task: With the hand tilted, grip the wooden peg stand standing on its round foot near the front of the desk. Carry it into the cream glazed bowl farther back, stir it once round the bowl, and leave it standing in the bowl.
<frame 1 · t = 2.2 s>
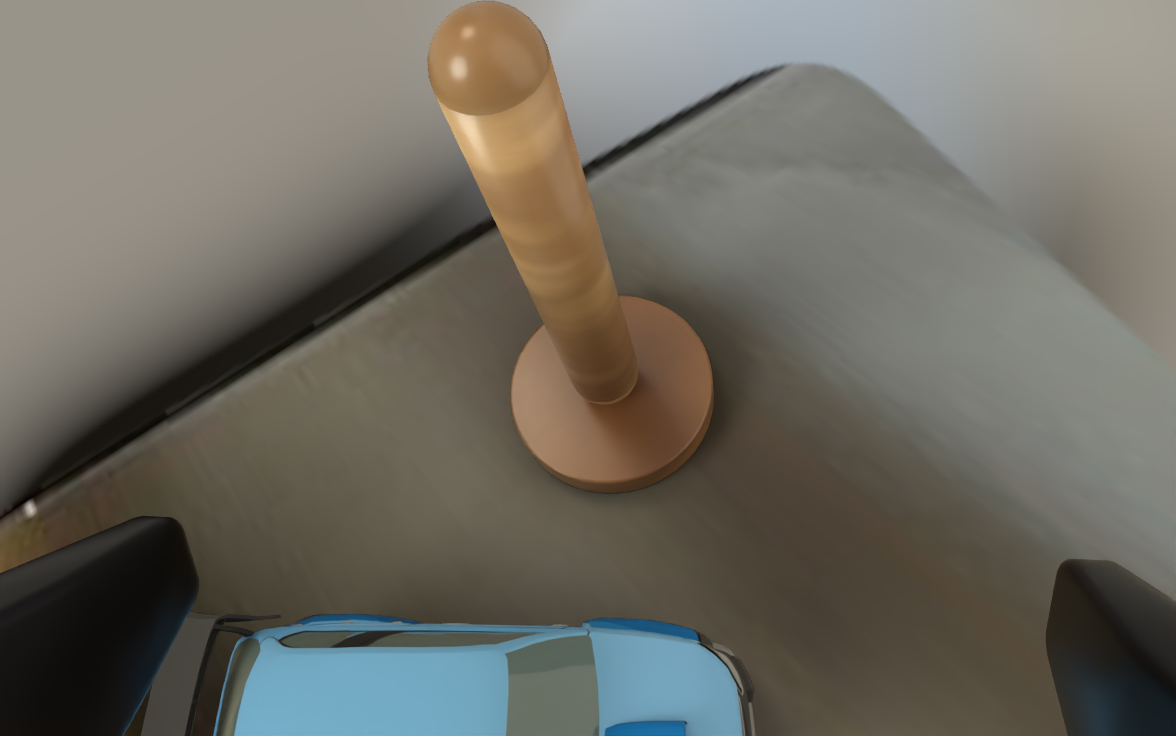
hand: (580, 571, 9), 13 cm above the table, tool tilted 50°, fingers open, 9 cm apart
wooden peg stand: (614, 397, 24), on the table
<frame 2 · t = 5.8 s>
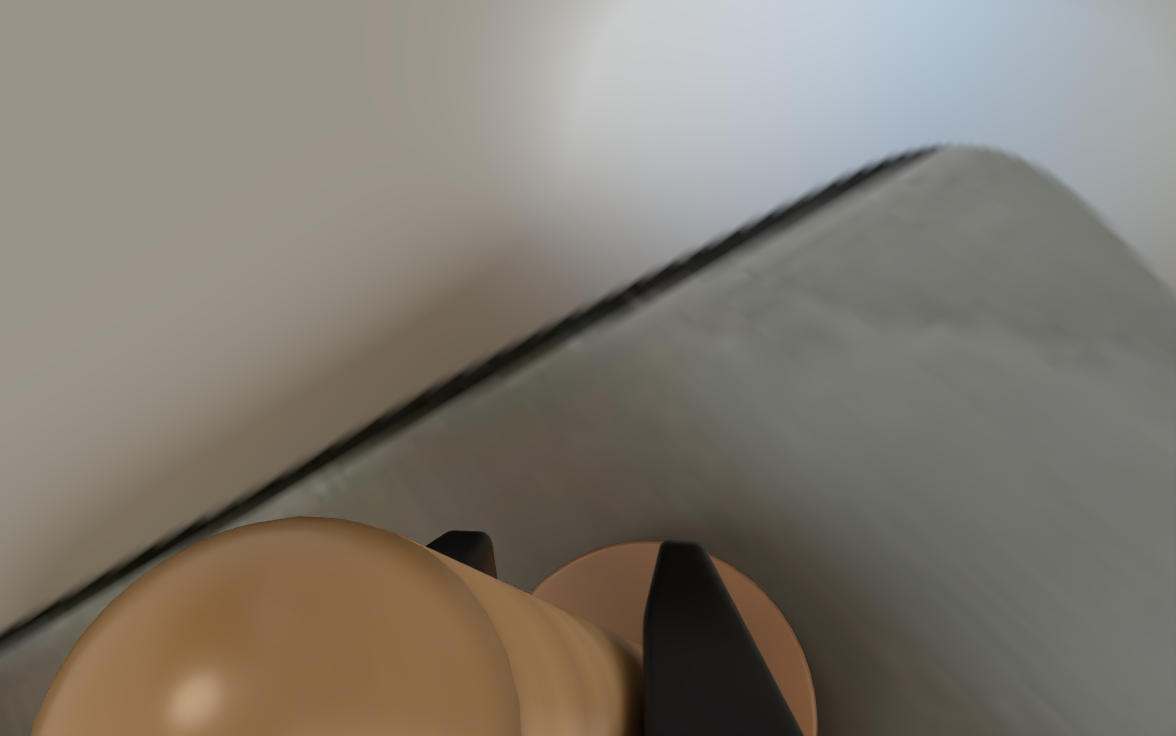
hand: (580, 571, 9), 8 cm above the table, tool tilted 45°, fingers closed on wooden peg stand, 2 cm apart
wooden peg stand: (651, 707, 15), on the table, touching gripper
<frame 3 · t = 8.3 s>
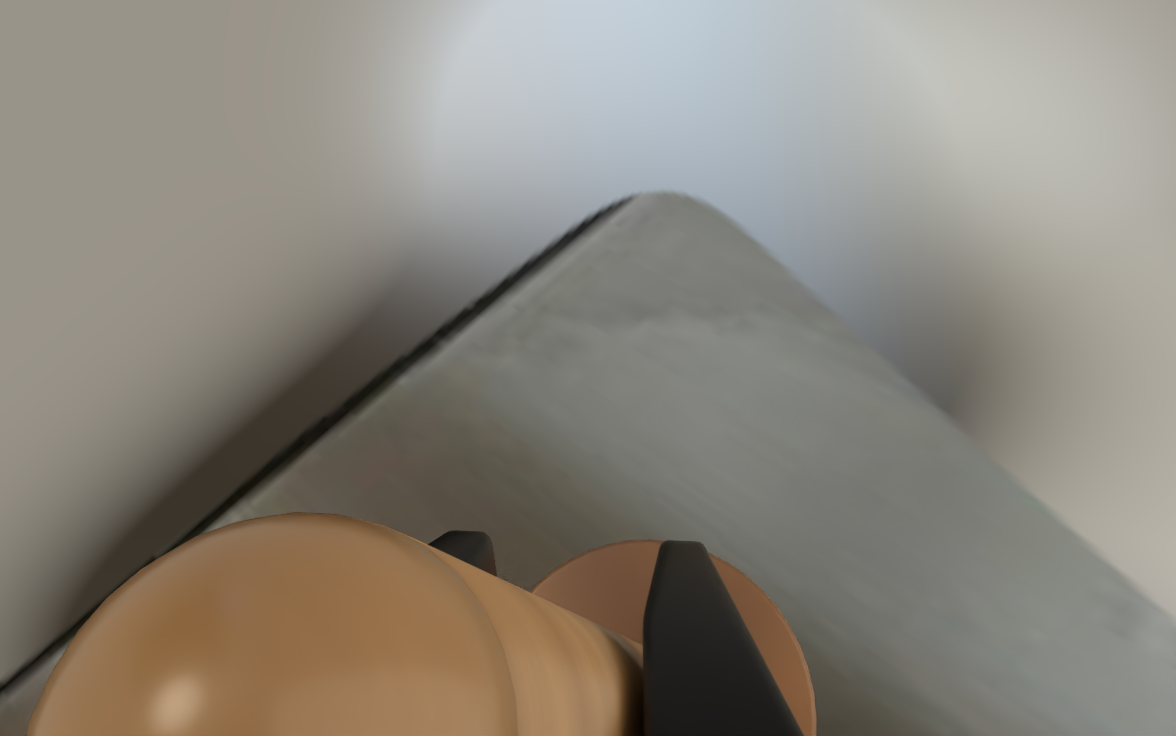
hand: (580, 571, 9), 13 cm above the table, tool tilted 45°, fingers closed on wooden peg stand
wooden peg stand: (650, 706, 15), point 6 cm above the table, touching gripper
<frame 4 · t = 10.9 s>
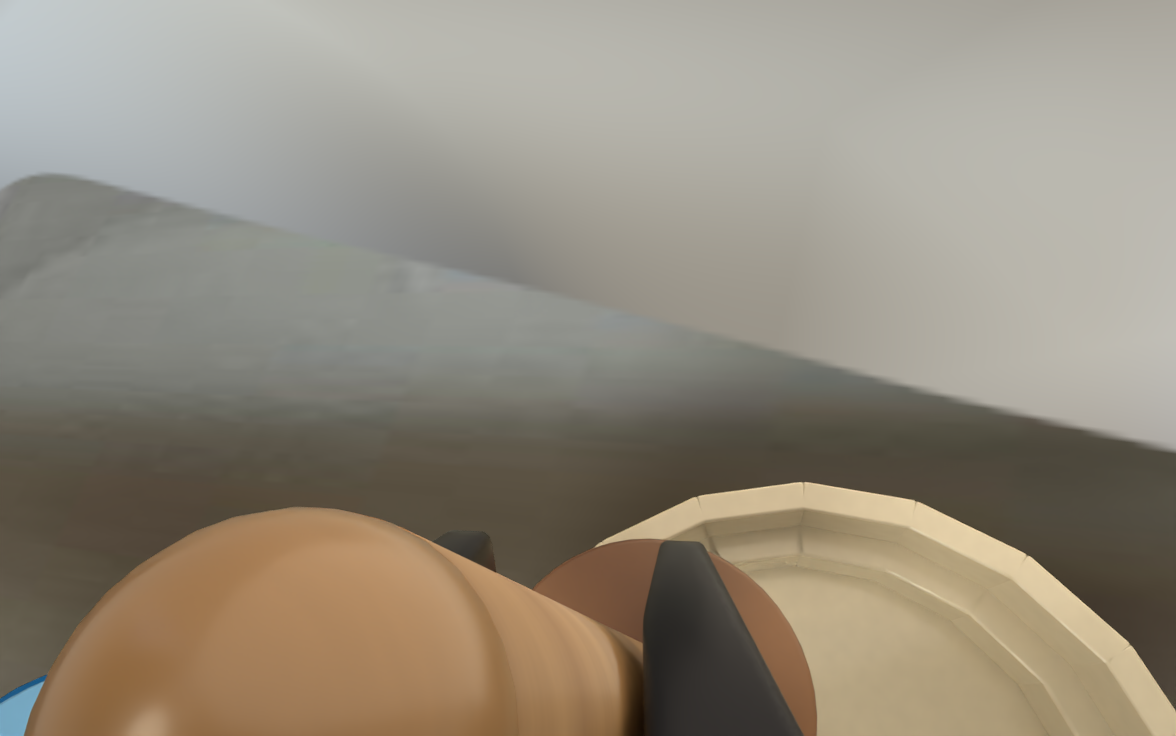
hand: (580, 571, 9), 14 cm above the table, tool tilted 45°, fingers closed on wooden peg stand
wooden peg stand: (651, 705, 15), point 6 cm above the table, touching gripper
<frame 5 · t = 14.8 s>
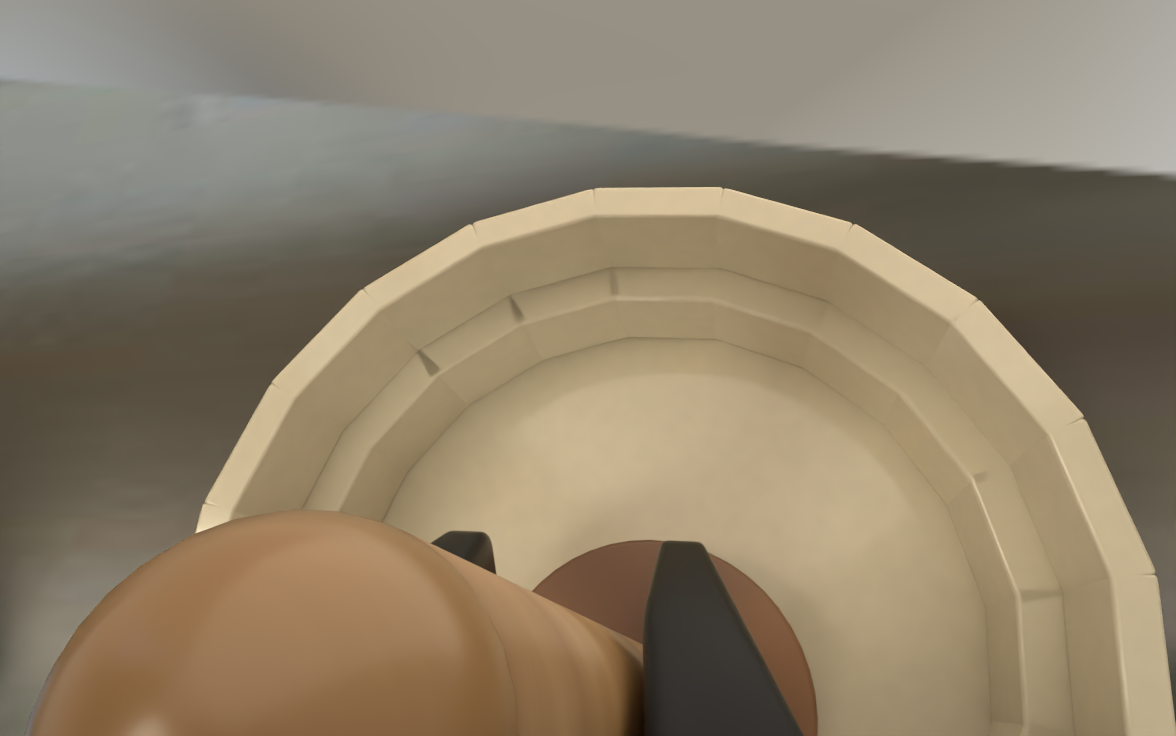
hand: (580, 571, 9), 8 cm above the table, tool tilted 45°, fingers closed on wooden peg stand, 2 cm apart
bowl: (653, 632, 16), on the table
wooden peg stand: (651, 706, 15), point 1 cm above the table, touching gripper
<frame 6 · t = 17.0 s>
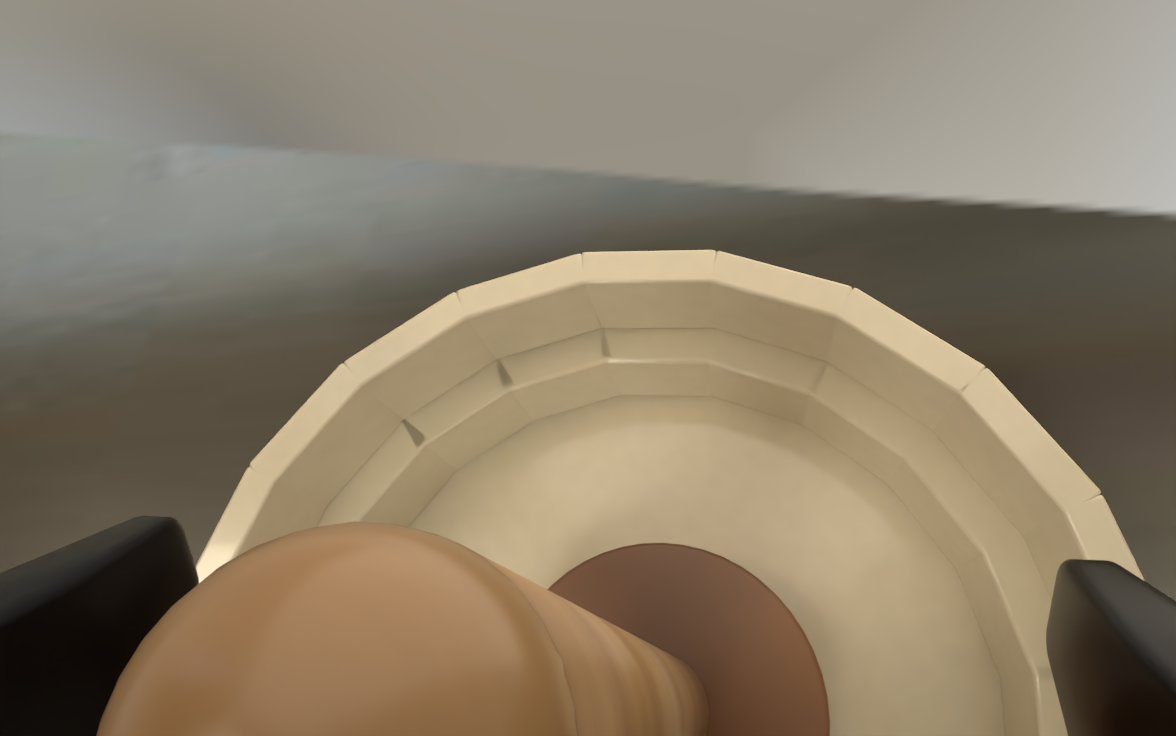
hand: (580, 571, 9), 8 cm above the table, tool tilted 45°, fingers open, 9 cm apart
bowl: (655, 707, 16), on the table
wooden peg stand: (662, 709, 15), point 1 cm above the table, touching bowl
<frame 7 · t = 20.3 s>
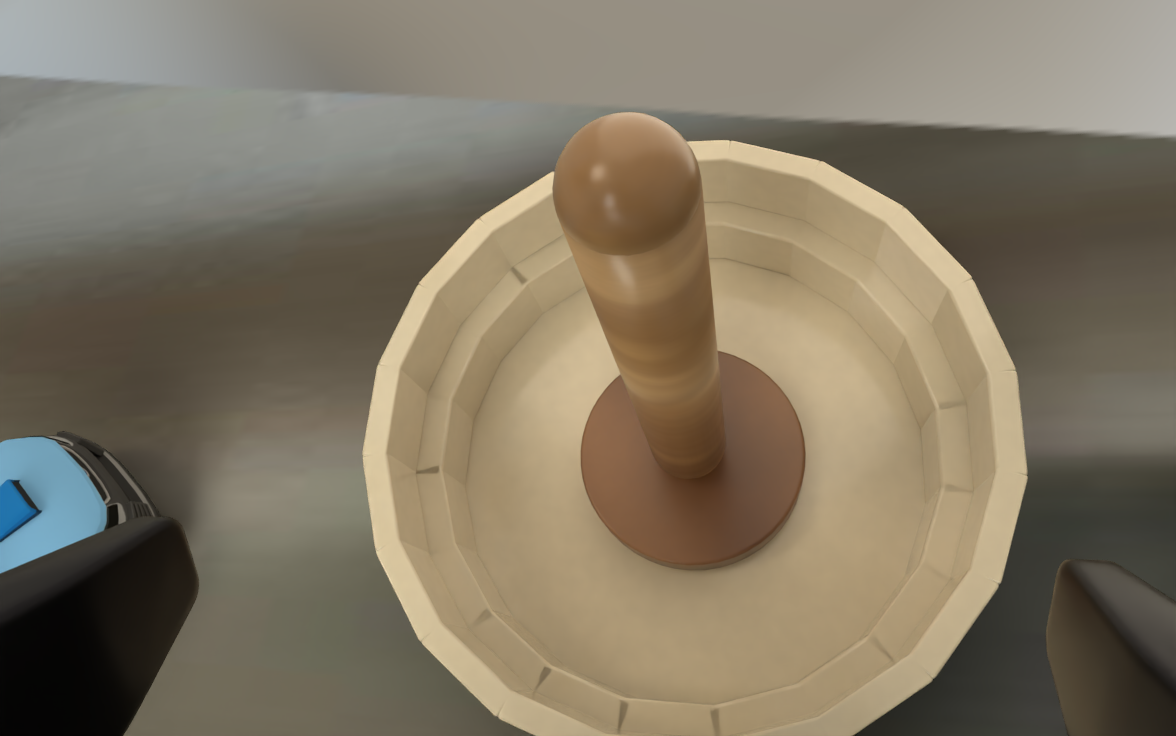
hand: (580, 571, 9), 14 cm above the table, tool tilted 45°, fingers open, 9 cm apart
bowl: (686, 466, 23), on the table
wooden peg stand: (692, 461, 22), point 1 cm above the table, touching bowl
toy car: (3, 641, 25), on the table
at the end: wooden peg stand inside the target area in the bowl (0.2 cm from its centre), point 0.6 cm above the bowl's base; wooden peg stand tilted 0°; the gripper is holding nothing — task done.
